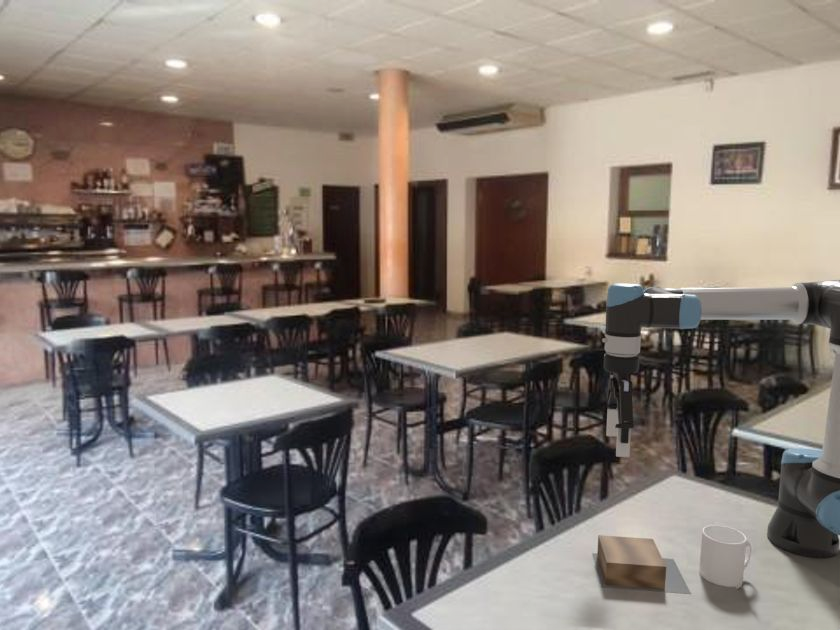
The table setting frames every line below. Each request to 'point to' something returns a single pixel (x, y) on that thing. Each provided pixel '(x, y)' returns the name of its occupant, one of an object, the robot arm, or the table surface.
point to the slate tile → (672, 584)
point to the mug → (723, 555)
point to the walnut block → (631, 562)
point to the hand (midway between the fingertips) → (617, 445)
